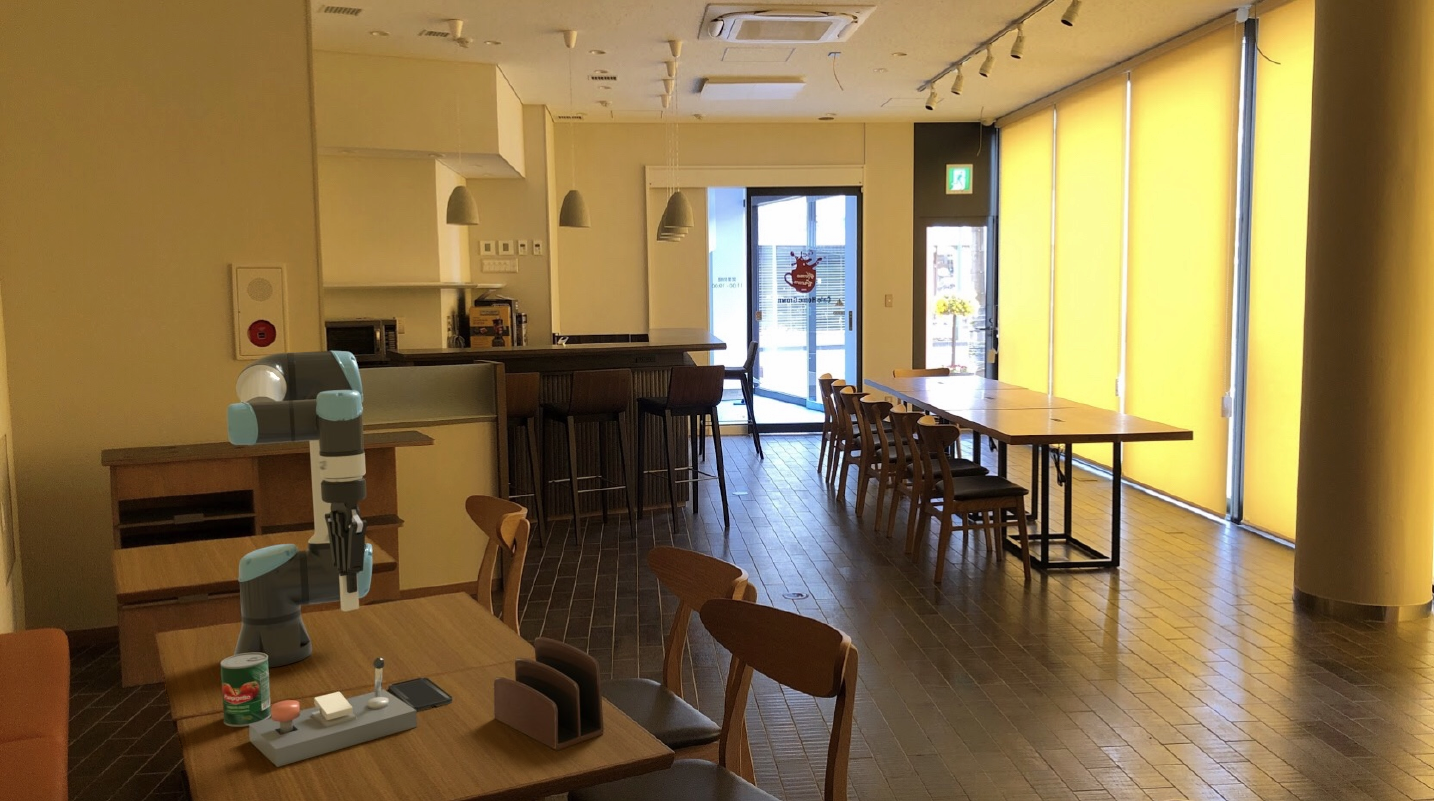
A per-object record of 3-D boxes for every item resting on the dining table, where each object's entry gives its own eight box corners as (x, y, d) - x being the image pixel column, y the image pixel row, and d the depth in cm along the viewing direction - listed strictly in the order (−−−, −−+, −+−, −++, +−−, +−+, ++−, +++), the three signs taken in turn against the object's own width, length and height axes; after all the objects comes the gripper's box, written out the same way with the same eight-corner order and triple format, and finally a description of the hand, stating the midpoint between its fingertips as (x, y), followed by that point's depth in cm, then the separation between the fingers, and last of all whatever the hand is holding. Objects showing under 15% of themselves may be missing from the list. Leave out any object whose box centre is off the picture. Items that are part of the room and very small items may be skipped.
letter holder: (540, 704, 198) (538, 630, 196) (604, 735, 183) (602, 655, 182) (493, 719, 191) (490, 642, 190) (556, 752, 177) (553, 669, 175)
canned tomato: (224, 730, 188) (220, 669, 187) (223, 714, 195) (219, 656, 194) (272, 721, 191) (269, 662, 190) (270, 707, 199) (267, 649, 198)
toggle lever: (370, 694, 190) (371, 656, 188) (381, 691, 191) (382, 654, 190) (374, 699, 189) (376, 661, 187) (385, 696, 190) (387, 658, 188)
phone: (425, 676, 211) (454, 698, 199) (425, 681, 211) (454, 704, 199) (386, 685, 207) (412, 708, 195) (386, 690, 207) (413, 714, 195)
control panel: (249, 740, 183) (248, 719, 183) (384, 704, 199) (383, 685, 198) (277, 766, 172) (275, 744, 172) (417, 726, 188) (416, 705, 188)
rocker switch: (314, 705, 186) (314, 697, 186) (339, 698, 189) (339, 691, 188) (327, 721, 182) (327, 714, 181) (352, 715, 184) (352, 707, 184)
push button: (269, 733, 180) (267, 704, 180) (295, 726, 183) (293, 698, 183) (277, 741, 177) (276, 712, 177) (304, 733, 180) (303, 705, 179)
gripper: (307, 476, 190) (315, 606, 192) (337, 484, 181) (344, 621, 183) (348, 471, 195) (355, 598, 197) (379, 479, 186) (386, 612, 188)
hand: (350, 609), depth 190 cm, fingers closed
